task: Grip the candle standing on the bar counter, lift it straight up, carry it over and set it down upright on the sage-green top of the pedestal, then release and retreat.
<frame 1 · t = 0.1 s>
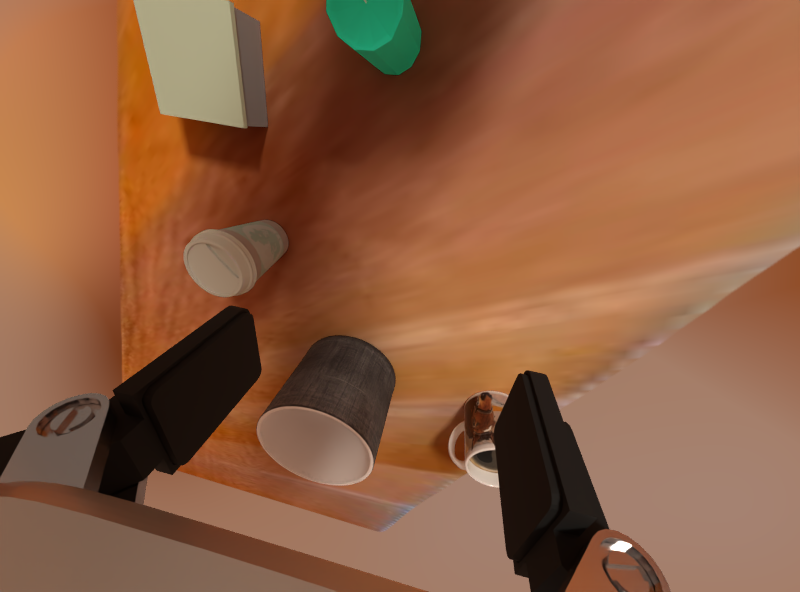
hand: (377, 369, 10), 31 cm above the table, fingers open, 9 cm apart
pedestal: (225, 72, 34), on the table
mug: (484, 408, 53), on the table
candle: (393, 40, 30), on the table
coffee cup: (271, 238, 44), on the table
planter: (350, 371, 55), on the table
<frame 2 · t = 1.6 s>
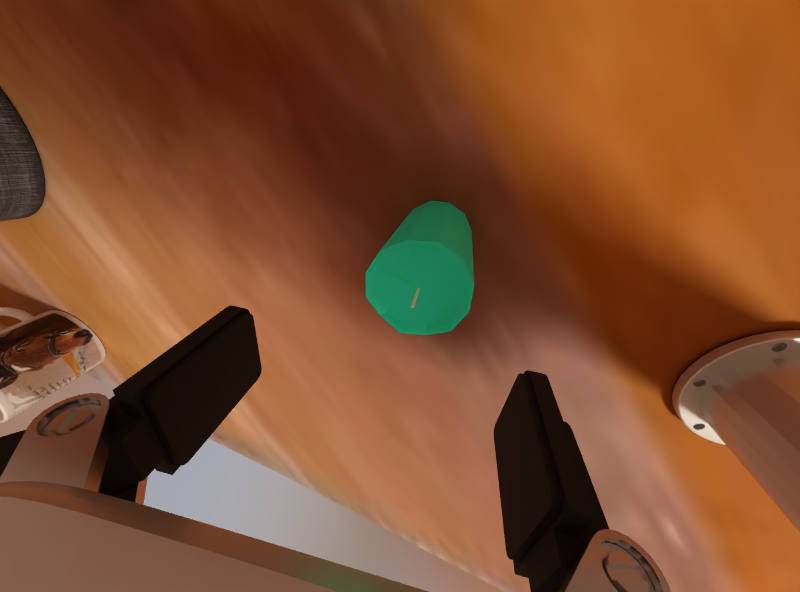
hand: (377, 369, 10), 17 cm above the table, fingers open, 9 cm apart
mug: (71, 330, 42), on the table
candle: (436, 235, 25), on the table
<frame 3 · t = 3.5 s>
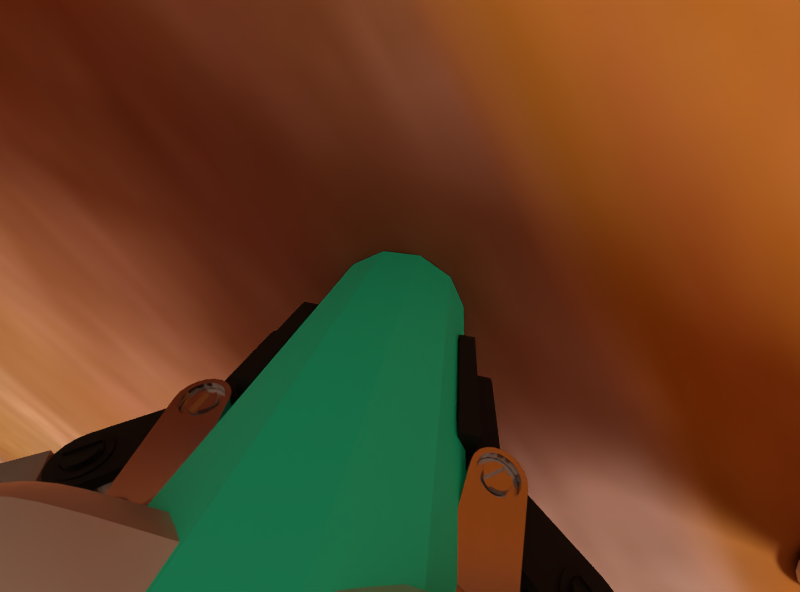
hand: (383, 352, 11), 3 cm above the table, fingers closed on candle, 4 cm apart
candle: (398, 309, 14), on the table, touching gripper
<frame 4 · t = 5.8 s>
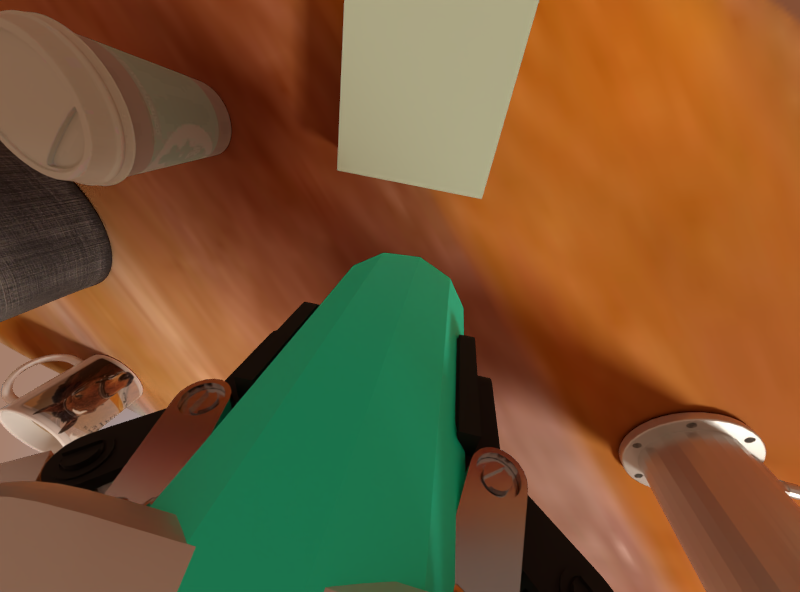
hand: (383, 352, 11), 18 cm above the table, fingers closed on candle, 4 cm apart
pedestal: (430, 103, 22), on the table
mug: (113, 370, 48), on the table
candle: (398, 310, 14), point 15 cm above the table, touching gripper
coffee cup: (204, 119, 26), on the table
planter: (48, 218, 35), on the table
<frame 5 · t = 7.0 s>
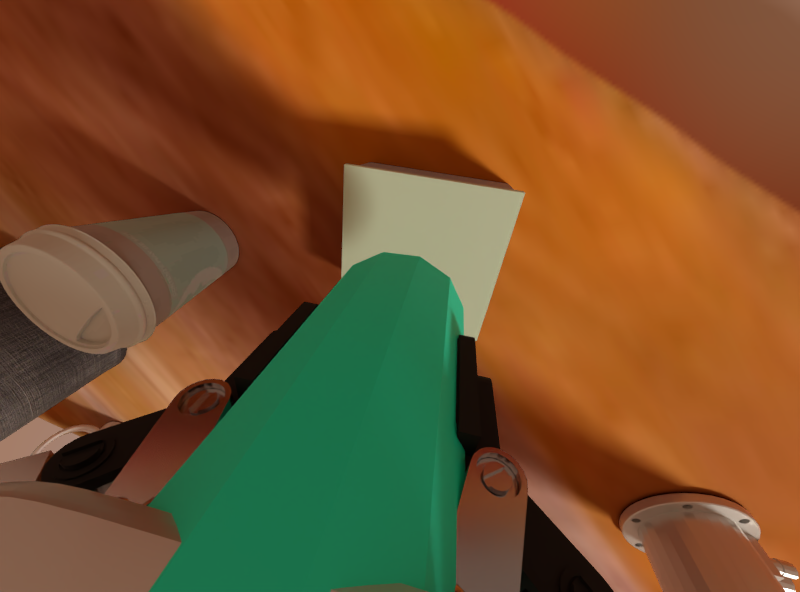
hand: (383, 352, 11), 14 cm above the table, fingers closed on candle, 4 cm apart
pedestal: (425, 239, 23), on the table
mug: (128, 434, 50), on the table
candle: (398, 310, 14), point 11 cm above the table, touching gripper
coffee cup: (212, 241, 27), on the table
planter: (65, 311, 37), on the table
when the fingers open (9 cm above the table, at t = 8.2 s): candle drops 1 cm, resting on pedestal.
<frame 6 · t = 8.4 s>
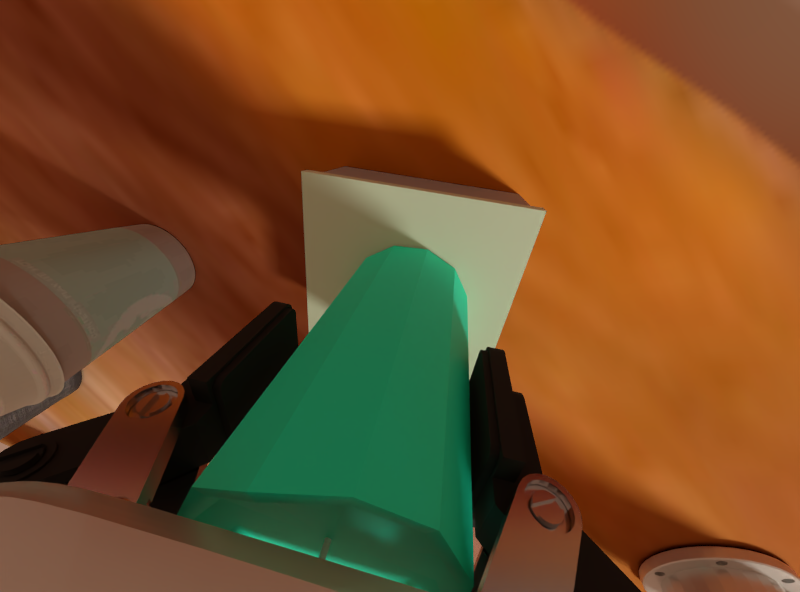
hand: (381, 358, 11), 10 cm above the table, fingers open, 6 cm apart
pedestal: (416, 260, 19), on the table
candle: (407, 299, 15), point 5 cm above the table, touching pedestal
coffee cup: (164, 259, 23), on the table
planter: (10, 333, 33), on the table
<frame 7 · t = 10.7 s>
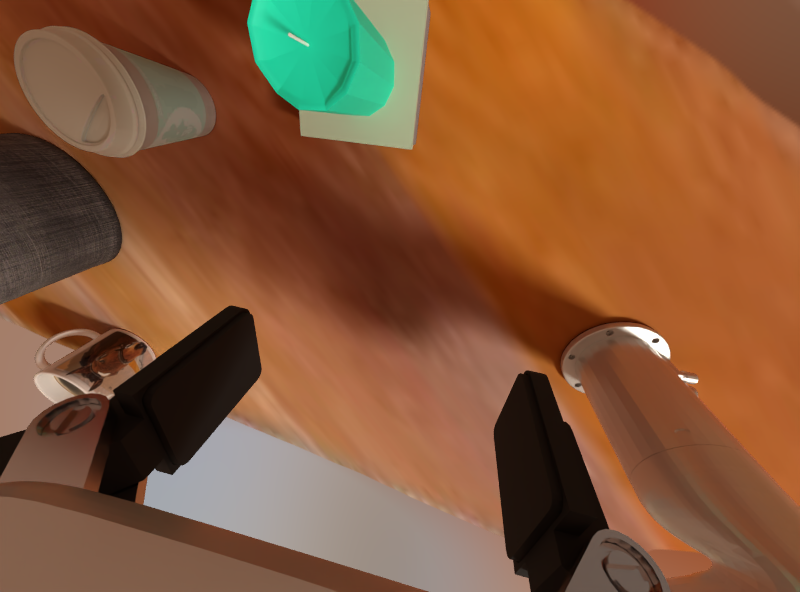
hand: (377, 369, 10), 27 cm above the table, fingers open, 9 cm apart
pedestal: (371, 79, 28), on the table
mug: (128, 343, 54), on the table
candle: (360, 74, 24), point 5 cm above the table, touching pedestal
coffee cup: (192, 106, 32), on the table
planter: (63, 204, 41), on the table
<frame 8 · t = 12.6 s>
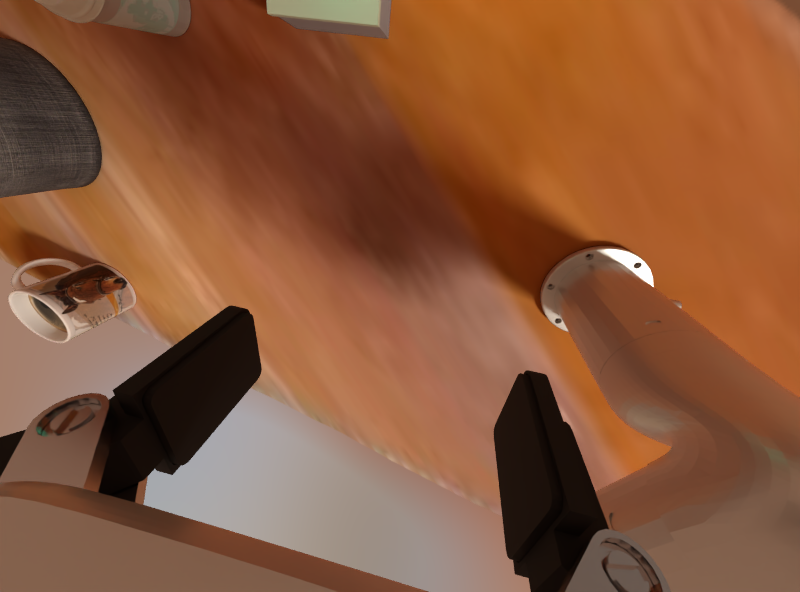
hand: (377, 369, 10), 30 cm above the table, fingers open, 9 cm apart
mug: (109, 280, 54), on the table
coffee cup: (168, 2, 32), on the table
planter: (45, 121, 41), on the table
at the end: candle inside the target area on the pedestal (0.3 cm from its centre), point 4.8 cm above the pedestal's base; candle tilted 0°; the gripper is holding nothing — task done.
